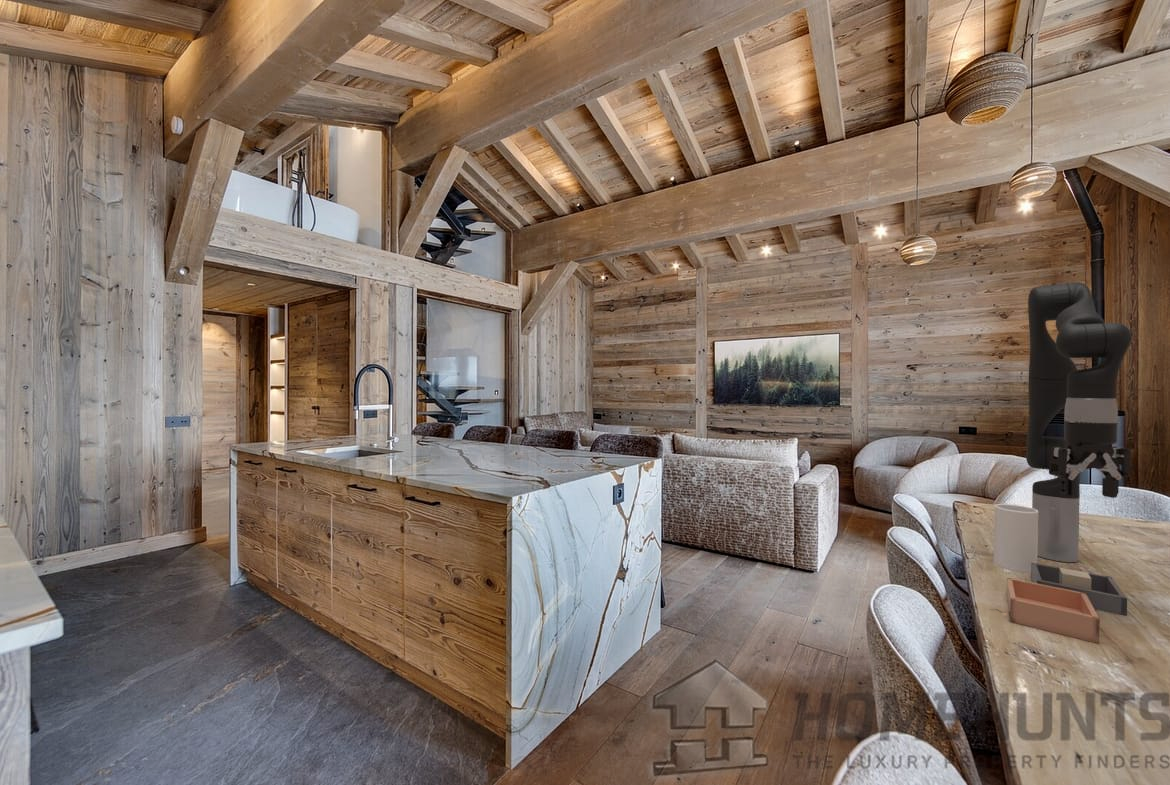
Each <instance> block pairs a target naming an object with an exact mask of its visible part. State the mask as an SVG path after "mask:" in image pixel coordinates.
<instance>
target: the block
mask: <svg viewBox="0 0 1170 785" xmlns="http://www.w3.org/2000/svg"><path fill="white" fill-rule="evenodd" d="M1088 573H1089V572H1086V571H1080V570H1075V569H1070V568H1064V567H1059V584H1062V585H1067V586H1072V587H1077V588H1082V589H1087V590H1091V577H1090V576H1089V574H1088Z"/></svg>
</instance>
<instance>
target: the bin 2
mask: <svg viewBox="0 0 1170 785" xmlns="http://www.w3.org/2000/svg"><path fill="white" fill-rule="evenodd" d="M1059 568H1060V567H1058V566H1053V565H1046V564H1041V563H1038V562H1037V563H1031V572H1030V578H1031V582H1032V583H1037V584H1042V585H1047V586H1052V587H1057V588H1062V589H1067V590H1072V591H1077V592H1082V593H1086V595H1087V597H1088V599H1089V600H1090V602H1091V604H1092V606H1093V608H1094V610H1095V611H1096V610H1097V611H1101V612H1106V613H1111V614H1114V615H1115V614H1116V615H1120V616H1125V617H1128V597H1127V596H1126V595H1125V592H1123V591H1122V589H1121V588H1120V587H1119V586H1120V585H1118V584H1117V582H1116V581H1115V579H1113V577H1112V576H1108V575H1103V574H1096V573H1091V572H1087V573H1088V574H1089V576H1090V577H1091V590H1087V589H1082V588H1077V587H1072V586H1067V585H1062V584H1059Z"/></svg>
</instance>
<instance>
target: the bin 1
mask: <svg viewBox="0 0 1170 785" xmlns="http://www.w3.org/2000/svg"><path fill="white" fill-rule="evenodd" d="M1006 598H1007V604H1008V616H1009V622H1011V623H1013V624H1019V625H1023V626H1027V627H1031V628H1035V629H1038V630H1039V629H1040V630H1043V631H1047V632H1051V633H1056V634H1059V635H1064V636H1067V637H1072V638H1076V639H1080V640H1083V641H1088V642H1093V643H1097V644H1100V625H1101V624H1100V622H1101V620H1100V617H1099V614H1098V613H1097V611H1096V609H1094V608H1093V606H1092V604H1091V602H1090V600H1089V599H1088V597H1087V595H1086V593H1082V592H1077V591H1072V590H1067V589H1062V588H1057V587H1052V586H1047V585H1042V584H1037V583H1033V582H1032V581H1027V580H1023V579H1016V578H1012V577H1006Z"/></svg>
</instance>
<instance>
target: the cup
mask: <svg viewBox="0 0 1170 785" xmlns="http://www.w3.org/2000/svg"><path fill="white" fill-rule="evenodd" d="M993 519H994V524H993V525H994V526H993V530H994V531H993V563H994V565H996V566H998V567H1001V568H1003V569H1006V570H1011V571H1015V572H1022V573H1031V563H1037V564H1038V557H1039V556H1038V510H1036V509H1033V508H1032V507H1029V506H1025V505H1020V504H1019V505H1018V504H1012V503H1011V504H1010V503H1009V504H1008V503H996V504H994V518H993Z"/></svg>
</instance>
